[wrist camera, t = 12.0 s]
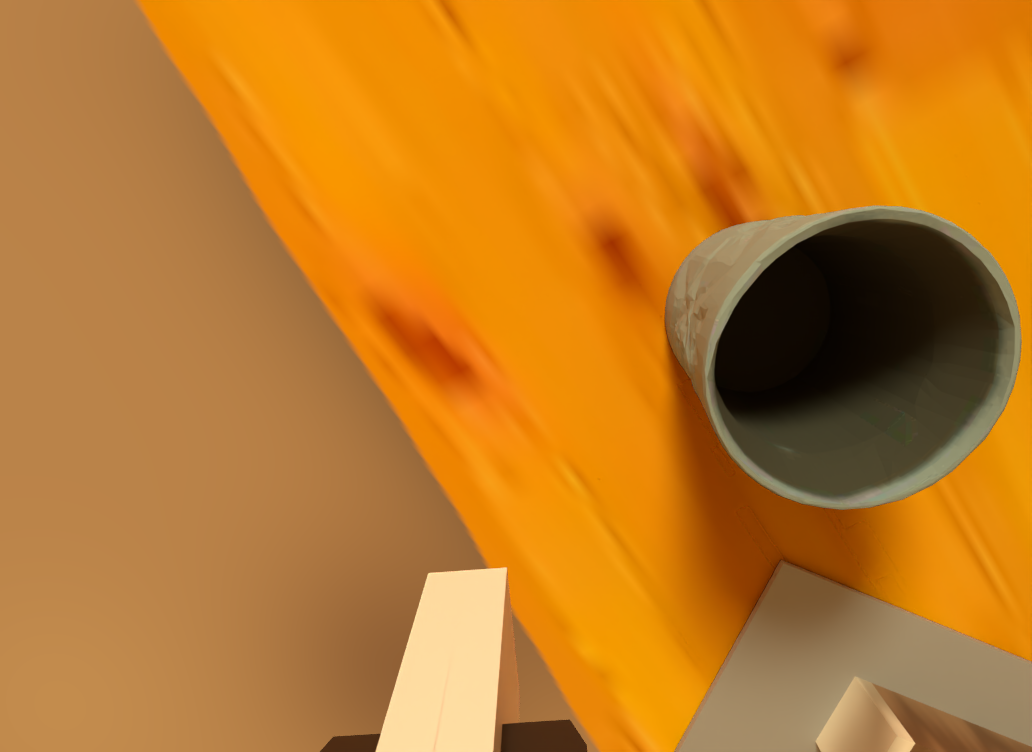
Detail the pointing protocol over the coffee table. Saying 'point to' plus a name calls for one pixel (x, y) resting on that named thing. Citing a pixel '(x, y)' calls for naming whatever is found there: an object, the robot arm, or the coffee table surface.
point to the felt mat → (847, 669)
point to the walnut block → (902, 726)
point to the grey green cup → (846, 350)
